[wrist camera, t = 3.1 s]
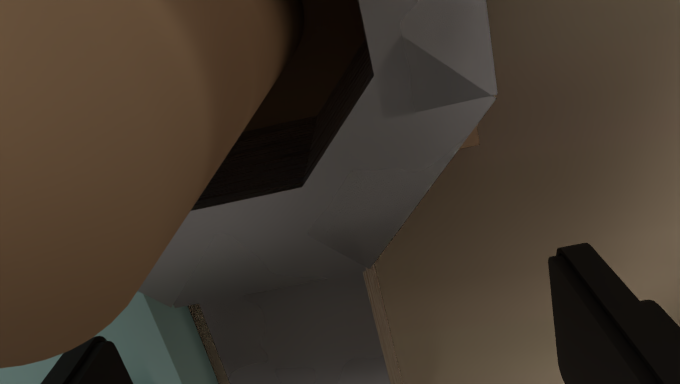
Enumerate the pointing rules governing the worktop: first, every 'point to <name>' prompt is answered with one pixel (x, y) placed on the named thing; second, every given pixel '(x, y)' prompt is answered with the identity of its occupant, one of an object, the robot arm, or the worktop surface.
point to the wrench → (331, 202)
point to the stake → (134, 138)
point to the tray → (143, 347)
